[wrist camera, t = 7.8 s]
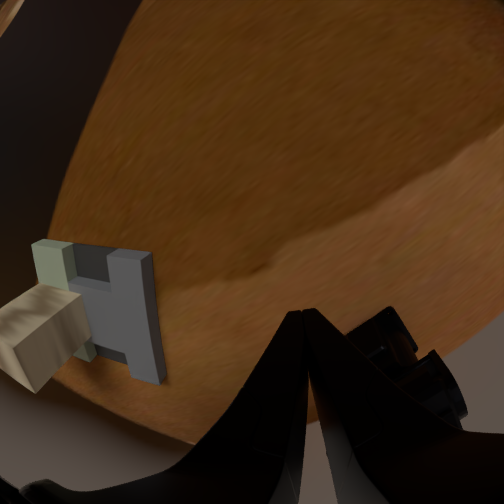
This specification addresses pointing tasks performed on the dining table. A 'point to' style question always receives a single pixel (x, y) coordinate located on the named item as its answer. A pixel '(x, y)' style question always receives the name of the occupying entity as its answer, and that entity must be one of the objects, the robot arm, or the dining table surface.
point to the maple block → (41, 333)
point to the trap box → (109, 301)
